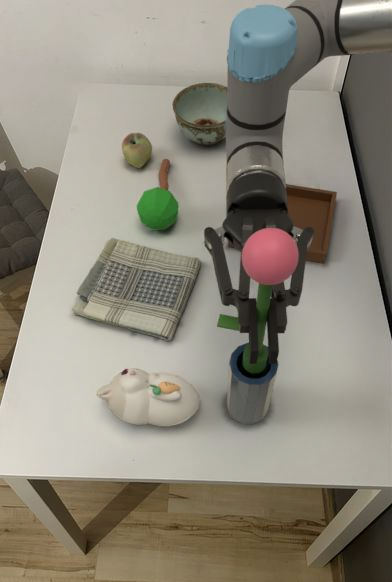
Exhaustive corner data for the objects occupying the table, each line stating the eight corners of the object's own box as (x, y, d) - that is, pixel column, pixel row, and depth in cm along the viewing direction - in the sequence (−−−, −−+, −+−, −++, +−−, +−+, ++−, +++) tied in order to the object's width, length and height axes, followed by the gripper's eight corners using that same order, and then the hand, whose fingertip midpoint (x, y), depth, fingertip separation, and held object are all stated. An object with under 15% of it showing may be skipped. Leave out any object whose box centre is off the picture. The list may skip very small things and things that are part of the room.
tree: (153, 181, 106) (141, 241, 93) (143, 147, 100) (129, 205, 88) (188, 176, 105) (181, 236, 92) (180, 141, 99) (172, 200, 86)
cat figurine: (204, 378, 69) (95, 368, 68) (199, 436, 69) (89, 426, 68) (201, 372, 78) (104, 363, 77) (196, 423, 78) (100, 414, 78)
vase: (271, 391, 78) (281, 347, 65) (263, 429, 75) (273, 389, 62) (232, 383, 78) (235, 337, 66) (223, 419, 75) (225, 379, 63)
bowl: (187, 112, 112) (185, 77, 105) (245, 122, 109) (247, 88, 102) (166, 151, 105) (163, 118, 98) (227, 164, 103) (228, 130, 96)
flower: (271, 378, 72) (306, 220, 45) (264, 411, 70) (297, 265, 42) (221, 368, 74) (225, 207, 46) (213, 399, 71) (212, 250, 43)
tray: (334, 201, 97) (337, 191, 95) (323, 263, 90) (326, 254, 87) (245, 187, 99) (245, 177, 97) (228, 246, 92) (228, 236, 90)
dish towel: (204, 263, 90) (203, 251, 88) (171, 345, 82) (170, 335, 79) (109, 241, 94) (106, 229, 91) (69, 318, 85) (64, 307, 83)
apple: (155, 147, 106) (152, 122, 101) (151, 173, 102) (148, 149, 97) (127, 146, 106) (123, 122, 101) (122, 172, 103) (117, 148, 97)
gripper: (308, 214, 66) (327, 374, 54) (199, 215, 66) (195, 373, 55) (319, 169, 59) (342, 339, 48) (198, 170, 60) (192, 338, 48)
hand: (263, 357), depth 51 cm, fingers closed on flower
